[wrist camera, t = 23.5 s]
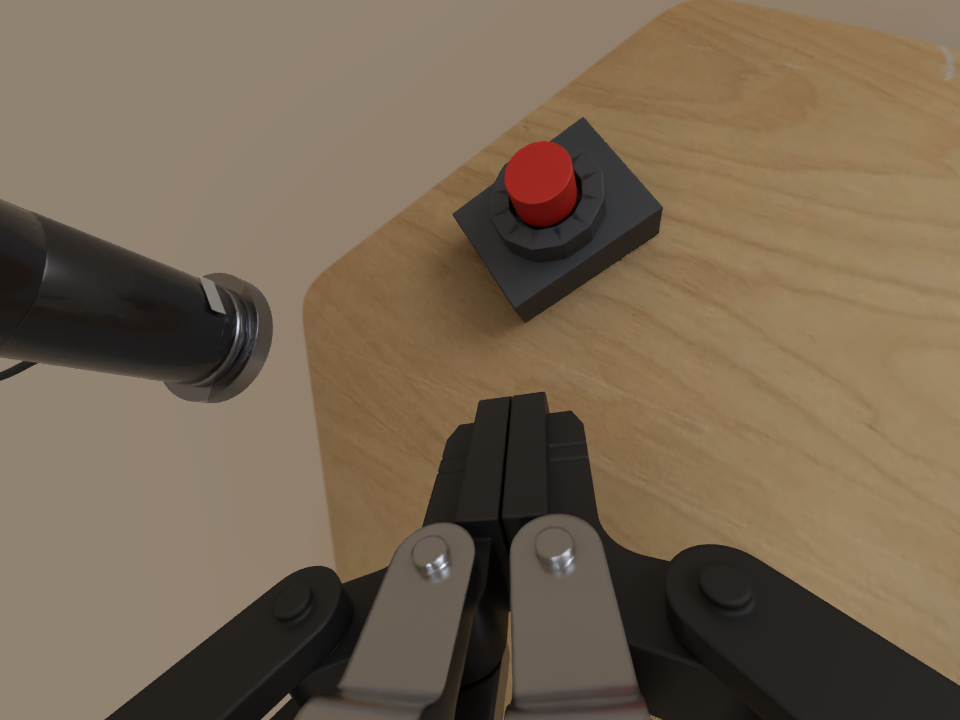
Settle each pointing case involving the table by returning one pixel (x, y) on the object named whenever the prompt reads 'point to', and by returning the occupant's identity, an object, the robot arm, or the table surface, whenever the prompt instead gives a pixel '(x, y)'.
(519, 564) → the robot arm
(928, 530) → the table surface
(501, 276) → the button block
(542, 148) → the button
